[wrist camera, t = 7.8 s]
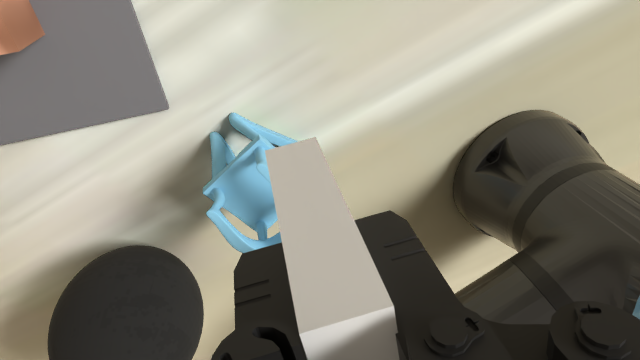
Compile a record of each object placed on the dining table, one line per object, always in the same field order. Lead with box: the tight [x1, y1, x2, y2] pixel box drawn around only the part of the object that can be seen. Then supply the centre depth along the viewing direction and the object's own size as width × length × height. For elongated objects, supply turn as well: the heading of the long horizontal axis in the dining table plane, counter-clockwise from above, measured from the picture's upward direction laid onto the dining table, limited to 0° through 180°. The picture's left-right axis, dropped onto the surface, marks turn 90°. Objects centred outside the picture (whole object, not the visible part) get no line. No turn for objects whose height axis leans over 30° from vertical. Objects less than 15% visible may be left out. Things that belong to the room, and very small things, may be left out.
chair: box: [203, 113, 297, 253], centre depth 35 cm, size 8×8×12 cm
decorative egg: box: [48, 246, 204, 360], centre depth 38 cm, size 12×12×15 cm
